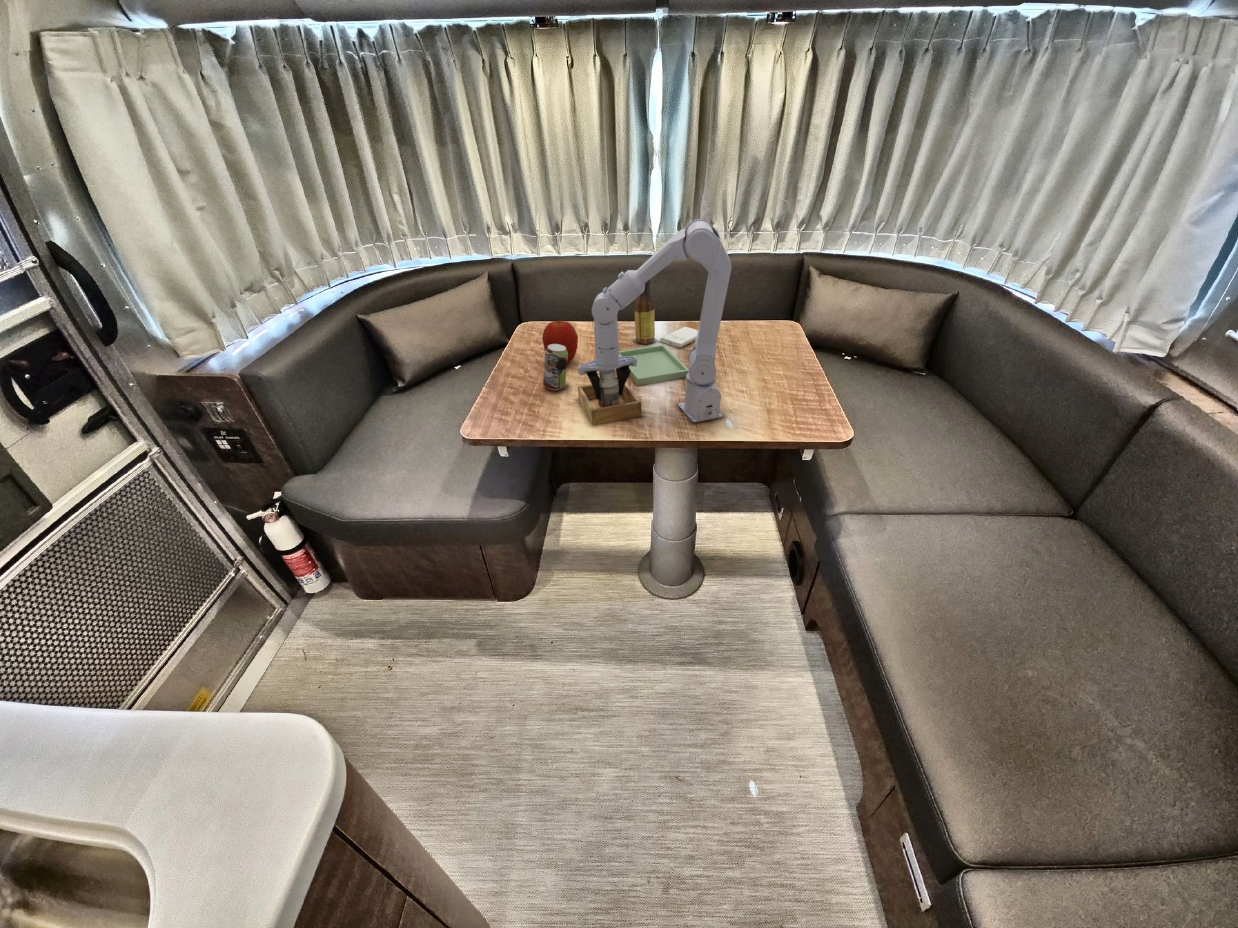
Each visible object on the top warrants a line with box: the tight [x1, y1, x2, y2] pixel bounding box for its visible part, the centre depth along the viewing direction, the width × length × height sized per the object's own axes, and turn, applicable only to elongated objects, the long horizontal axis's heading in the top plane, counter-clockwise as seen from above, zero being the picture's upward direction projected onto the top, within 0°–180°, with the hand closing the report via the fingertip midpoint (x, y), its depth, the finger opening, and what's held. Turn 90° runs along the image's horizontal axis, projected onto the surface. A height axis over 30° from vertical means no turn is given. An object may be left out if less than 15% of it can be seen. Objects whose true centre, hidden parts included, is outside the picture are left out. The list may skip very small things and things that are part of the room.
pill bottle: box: [597, 369, 620, 408], centre depth 133 cm, size 5×5×10 cm
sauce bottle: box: [633, 279, 656, 345], centre depth 166 cm, size 7×6×20 cm
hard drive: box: [660, 326, 698, 349], centre depth 172 cm, size 2×8×12 cm
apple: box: [541, 319, 579, 365], centre depth 156 cm, size 10×10×14 cm
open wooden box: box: [577, 382, 642, 426], centre depth 136 cm, size 14×13×4 cm
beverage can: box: [542, 344, 568, 391], centre depth 143 cm, size 6×7×12 cm
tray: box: [619, 344, 690, 386], centre depth 156 cm, size 20×16×2 cm
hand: (608, 395), depth 135 cm, fingers closed on pill bottle, 5 cm apart
